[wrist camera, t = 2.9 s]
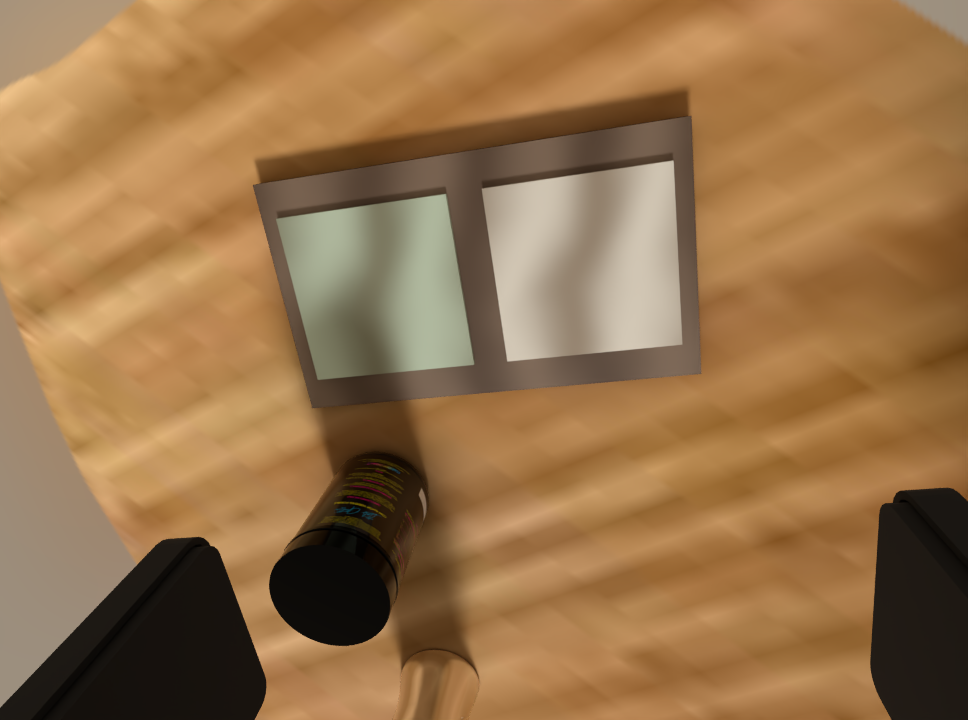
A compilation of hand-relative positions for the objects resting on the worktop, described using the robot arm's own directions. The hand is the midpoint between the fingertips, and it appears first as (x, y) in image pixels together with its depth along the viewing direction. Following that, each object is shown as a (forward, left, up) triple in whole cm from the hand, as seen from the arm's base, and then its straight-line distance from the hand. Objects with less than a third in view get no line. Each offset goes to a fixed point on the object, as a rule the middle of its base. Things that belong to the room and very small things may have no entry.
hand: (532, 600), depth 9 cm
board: (+5, +1, -29) cm, 29 cm away
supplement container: (+14, +15, -29) cm, 36 cm away
